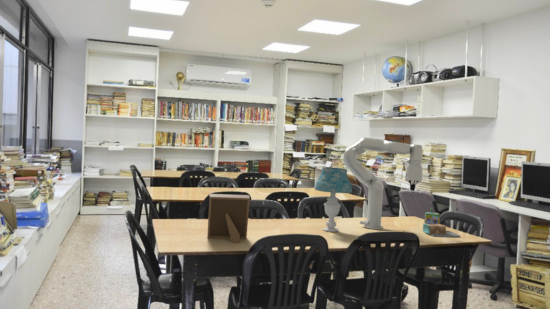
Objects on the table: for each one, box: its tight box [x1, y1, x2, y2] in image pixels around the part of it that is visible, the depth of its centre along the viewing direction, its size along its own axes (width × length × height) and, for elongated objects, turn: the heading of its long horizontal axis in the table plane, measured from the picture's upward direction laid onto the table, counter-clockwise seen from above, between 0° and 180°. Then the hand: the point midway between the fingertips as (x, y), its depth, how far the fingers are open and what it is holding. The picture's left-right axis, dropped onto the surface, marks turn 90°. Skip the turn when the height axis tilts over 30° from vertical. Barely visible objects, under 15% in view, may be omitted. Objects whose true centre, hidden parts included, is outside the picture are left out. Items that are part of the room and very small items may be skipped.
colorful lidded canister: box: [423, 208, 441, 224], centre depth 321 cm, size 9×9×15 cm
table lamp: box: [314, 166, 353, 233], centre depth 298 cm, size 24×24×40 cm
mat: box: [422, 230, 461, 238], centre depth 307 cm, size 18×16×1 cm
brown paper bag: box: [422, 223, 447, 235], centre depth 306 cm, size 5×8×12 cm
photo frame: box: [207, 193, 251, 244], centre depth 257 cm, size 15×22×25 cm
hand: (412, 190), depth 310 cm, fingers closed
